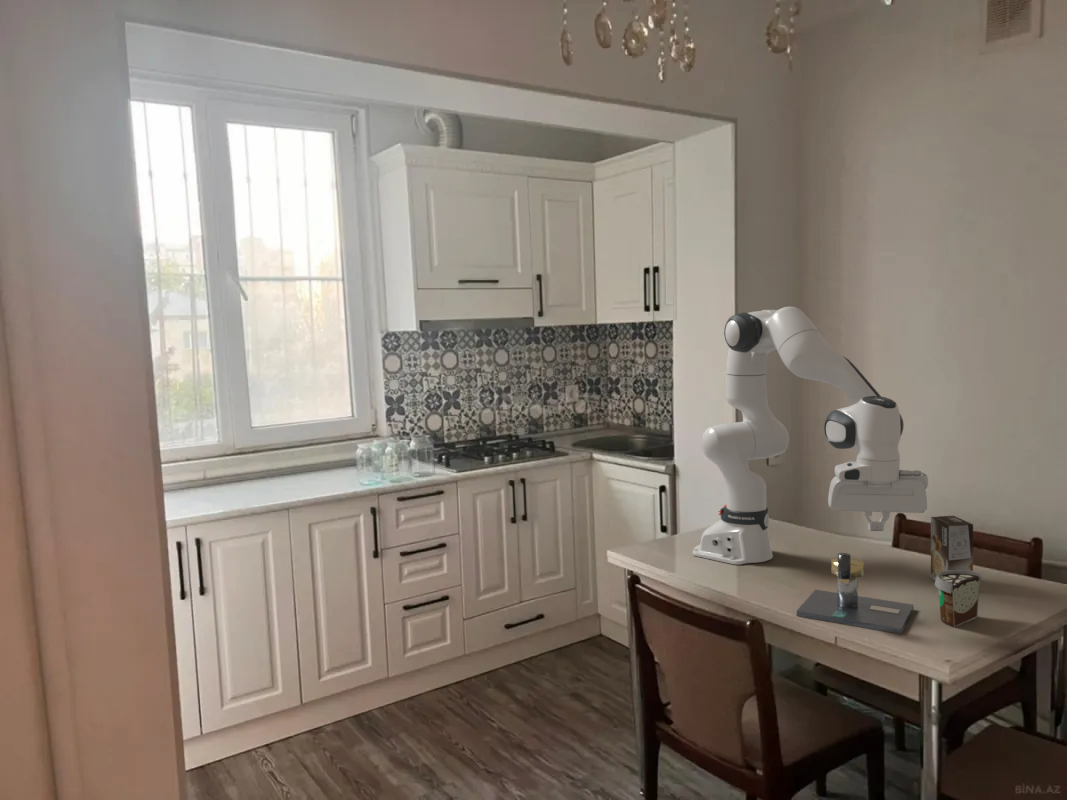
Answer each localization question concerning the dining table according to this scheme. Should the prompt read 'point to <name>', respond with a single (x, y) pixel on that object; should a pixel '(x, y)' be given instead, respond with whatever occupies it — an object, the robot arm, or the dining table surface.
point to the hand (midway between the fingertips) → (876, 530)
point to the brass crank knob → (847, 567)
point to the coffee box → (951, 545)
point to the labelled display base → (856, 609)
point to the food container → (958, 596)
